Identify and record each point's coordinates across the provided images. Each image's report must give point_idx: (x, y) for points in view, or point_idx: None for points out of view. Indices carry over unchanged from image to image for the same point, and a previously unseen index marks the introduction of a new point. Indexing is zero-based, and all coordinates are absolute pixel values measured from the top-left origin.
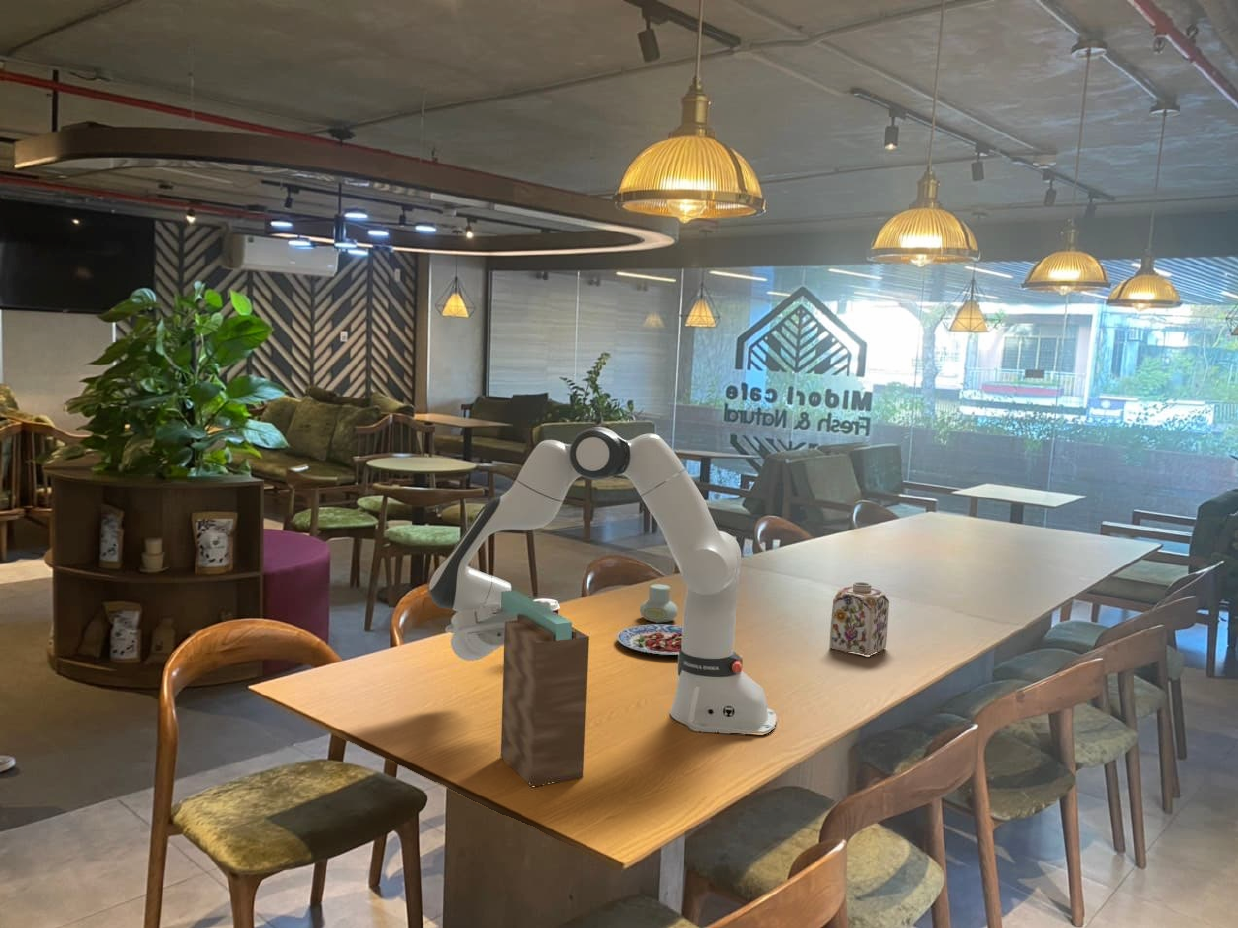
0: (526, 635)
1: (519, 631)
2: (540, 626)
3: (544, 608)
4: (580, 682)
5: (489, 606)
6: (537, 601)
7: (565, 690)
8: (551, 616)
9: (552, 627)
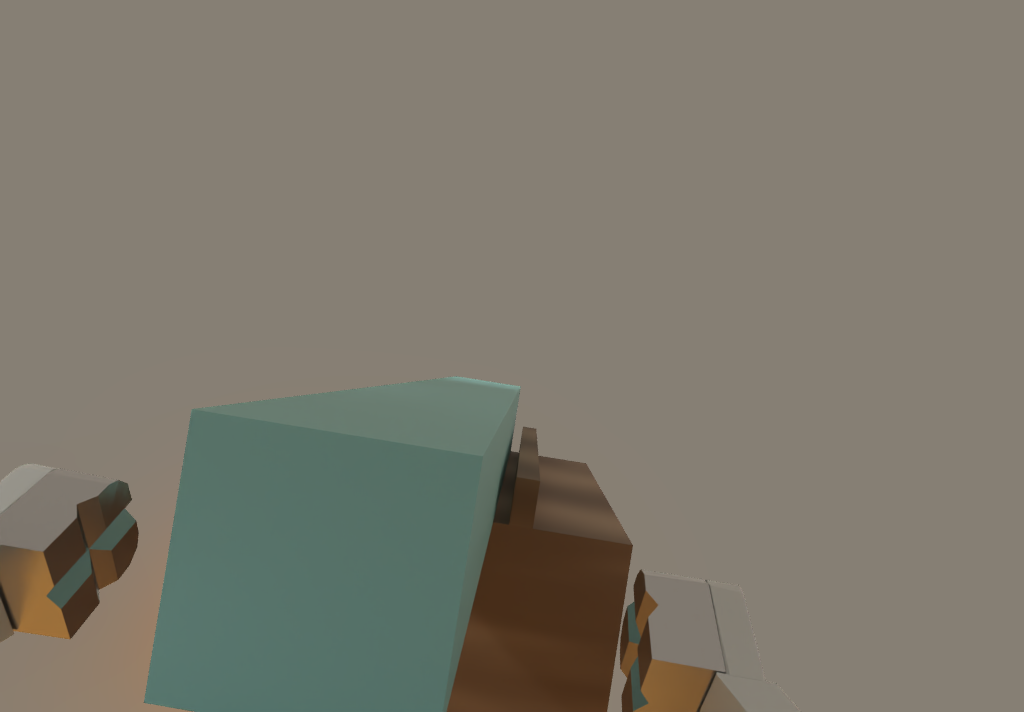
0: (593, 480)
1: (603, 494)
2: (524, 439)
3: (437, 383)
4: None
5: (732, 584)
6: (78, 472)
7: None
8: (486, 384)
9: (516, 410)
